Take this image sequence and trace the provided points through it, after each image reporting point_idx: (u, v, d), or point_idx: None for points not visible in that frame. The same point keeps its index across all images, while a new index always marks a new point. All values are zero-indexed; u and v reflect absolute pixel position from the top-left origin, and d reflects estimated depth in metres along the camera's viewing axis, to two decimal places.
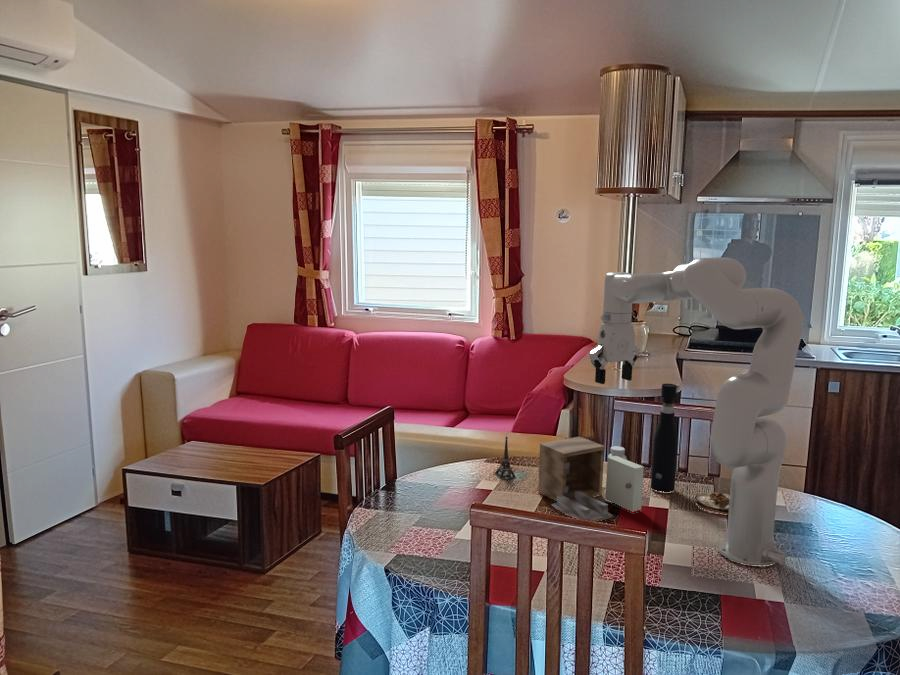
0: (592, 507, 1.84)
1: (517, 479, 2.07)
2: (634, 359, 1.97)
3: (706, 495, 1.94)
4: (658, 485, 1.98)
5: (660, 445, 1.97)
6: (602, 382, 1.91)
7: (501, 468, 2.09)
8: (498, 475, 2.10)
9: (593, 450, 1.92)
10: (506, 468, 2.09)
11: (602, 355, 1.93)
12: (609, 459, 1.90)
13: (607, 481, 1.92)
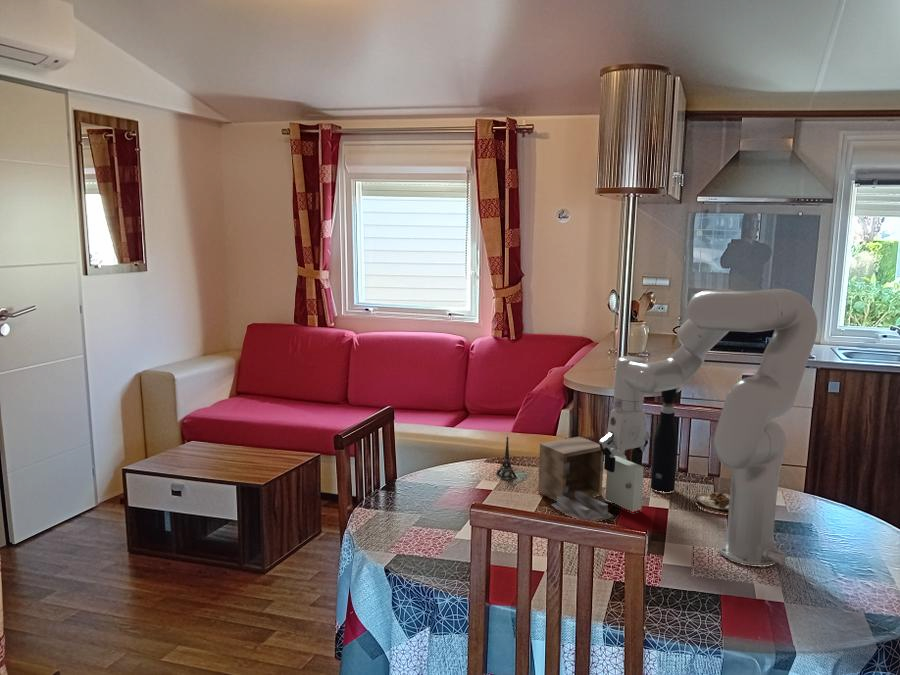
0: (592, 507, 1.84)
1: (518, 479, 2.07)
2: (645, 444, 1.90)
3: (706, 495, 1.94)
4: (658, 485, 1.98)
5: (660, 445, 1.97)
6: (611, 470, 1.85)
7: (502, 468, 2.09)
8: (499, 475, 2.10)
9: (593, 450, 1.92)
10: (507, 468, 2.09)
11: (612, 442, 1.86)
12: None
13: (607, 481, 1.92)
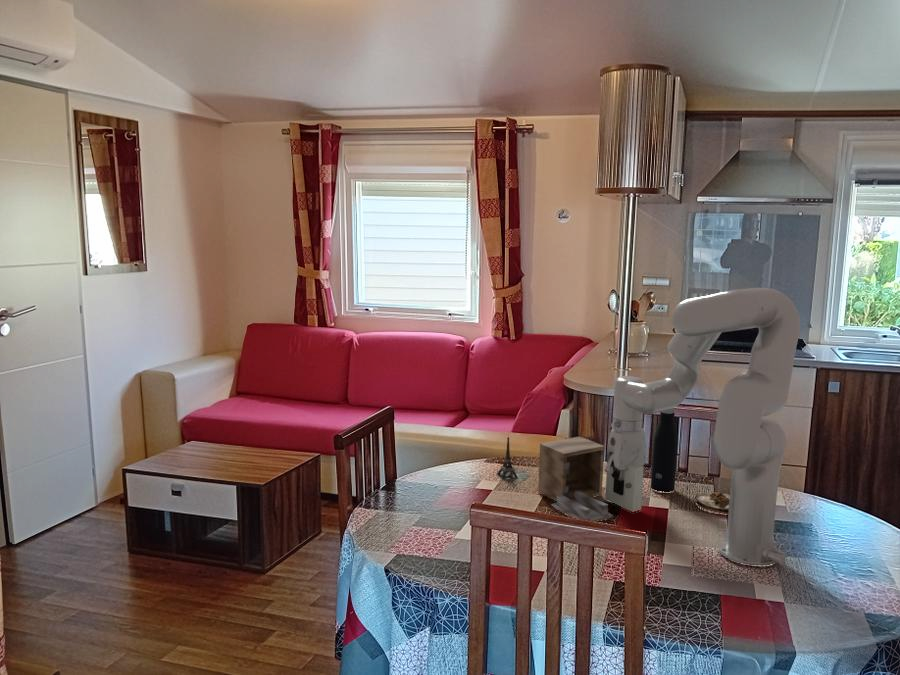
0: (592, 507, 1.84)
1: (519, 480, 2.07)
2: None
3: (706, 495, 1.94)
4: (658, 485, 1.98)
5: (660, 445, 1.97)
6: (620, 493, 1.87)
7: (503, 469, 2.09)
8: (500, 476, 2.10)
9: (593, 450, 1.92)
10: (508, 469, 2.08)
11: None
12: None
13: (607, 481, 1.92)
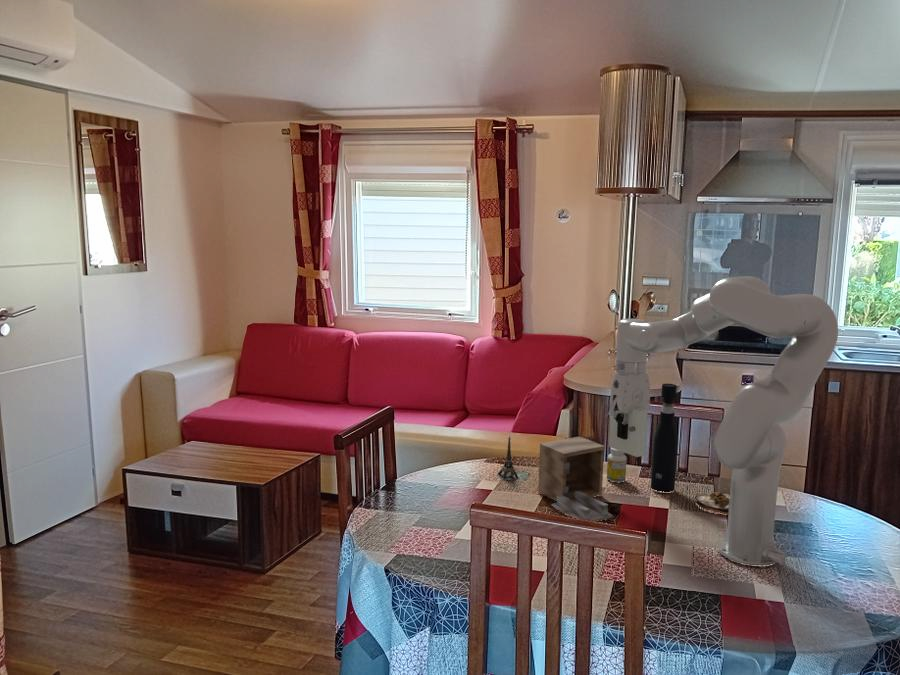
0: (592, 507, 1.84)
1: (520, 480, 2.07)
2: None
3: (706, 495, 1.94)
4: (658, 485, 1.98)
5: (660, 445, 1.97)
6: (624, 437, 1.84)
7: (504, 469, 2.09)
8: (501, 476, 2.10)
9: (593, 450, 1.92)
10: (509, 469, 2.08)
11: None
12: None
13: (610, 427, 1.89)
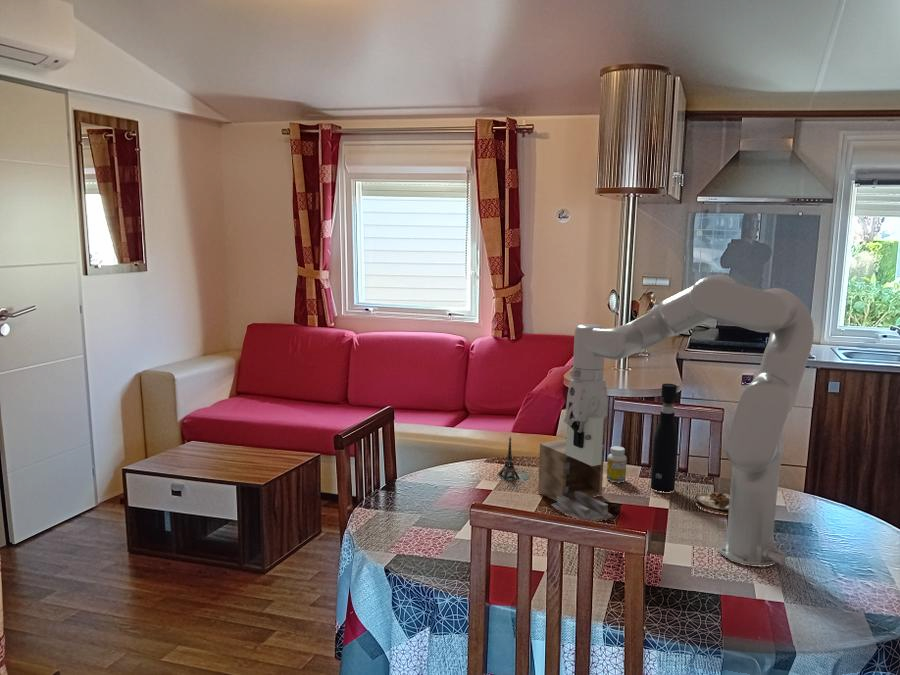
0: (592, 507, 1.84)
1: (521, 480, 2.07)
2: None
3: (706, 495, 1.94)
4: (658, 485, 1.98)
5: (660, 445, 1.97)
6: (580, 446, 1.79)
7: (505, 469, 2.09)
8: (502, 476, 2.10)
9: None
10: (510, 469, 2.08)
11: None
12: None
13: (567, 434, 1.84)
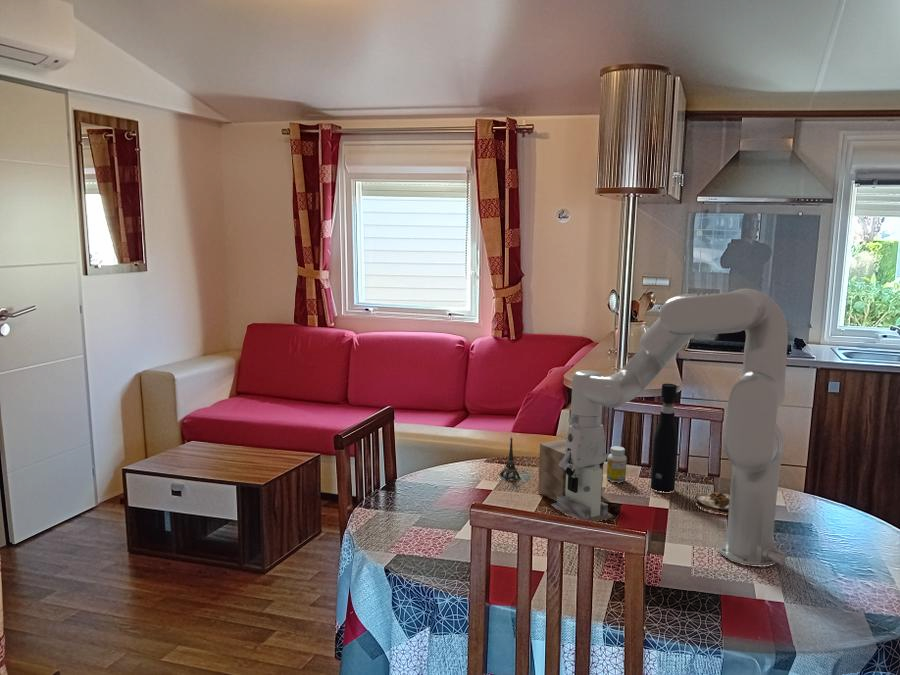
0: None
1: (522, 480, 2.06)
2: (600, 465, 1.84)
3: (706, 495, 1.94)
4: (658, 485, 1.98)
5: (660, 445, 1.97)
6: (574, 491, 1.80)
7: (506, 469, 2.08)
8: (503, 476, 2.09)
9: None
10: (511, 469, 2.08)
11: (572, 460, 1.81)
12: None
13: (566, 484, 1.86)
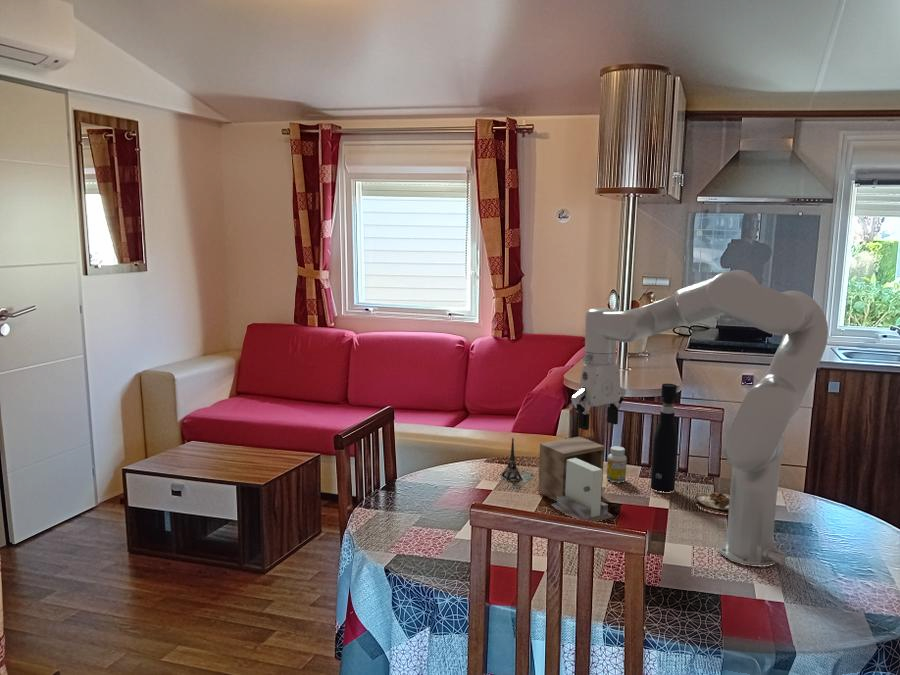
0: None
1: (524, 481, 2.06)
2: (620, 401, 1.82)
3: (706, 495, 1.94)
4: (658, 485, 1.98)
5: (660, 445, 1.97)
6: (586, 428, 1.76)
7: (507, 470, 2.08)
8: (504, 477, 2.09)
9: (593, 450, 1.92)
10: (512, 470, 2.07)
11: (585, 398, 1.78)
12: (568, 461, 1.85)
13: (566, 484, 1.86)
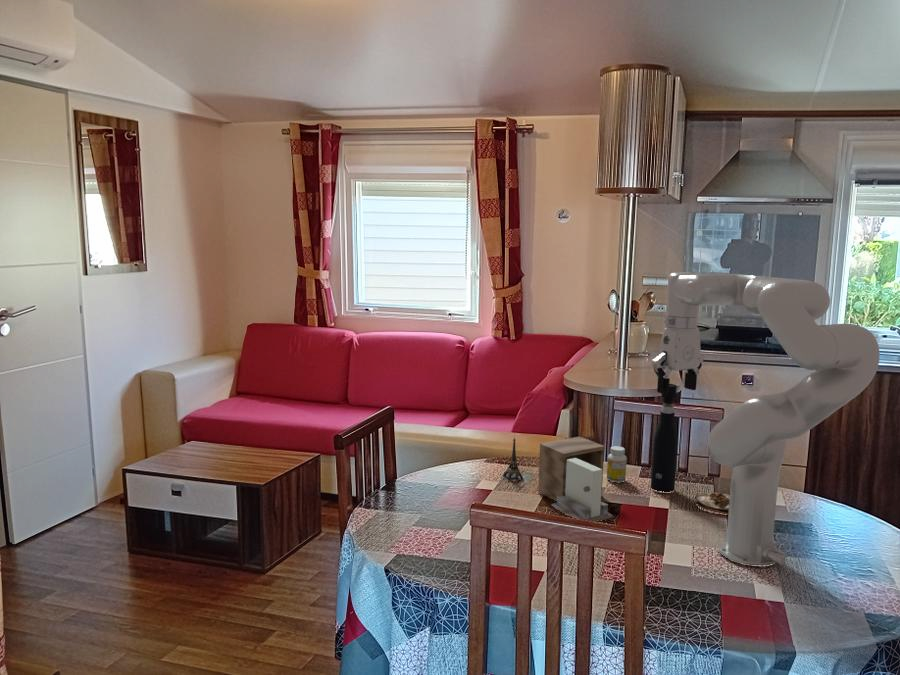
0: None
1: None
2: (698, 367, 1.81)
3: (706, 495, 1.94)
4: (658, 485, 1.98)
5: (660, 445, 1.97)
6: (666, 392, 1.75)
7: (509, 470, 2.08)
8: (506, 477, 2.09)
9: (593, 450, 1.92)
10: (514, 470, 2.07)
11: (665, 363, 1.77)
12: (568, 461, 1.85)
13: (566, 484, 1.86)
